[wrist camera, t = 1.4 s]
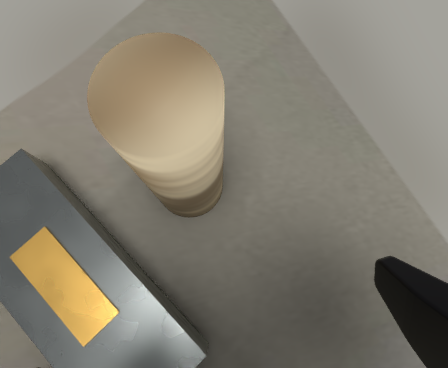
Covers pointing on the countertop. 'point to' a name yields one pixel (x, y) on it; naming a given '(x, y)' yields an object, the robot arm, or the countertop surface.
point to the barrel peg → (164, 117)
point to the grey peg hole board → (81, 282)
